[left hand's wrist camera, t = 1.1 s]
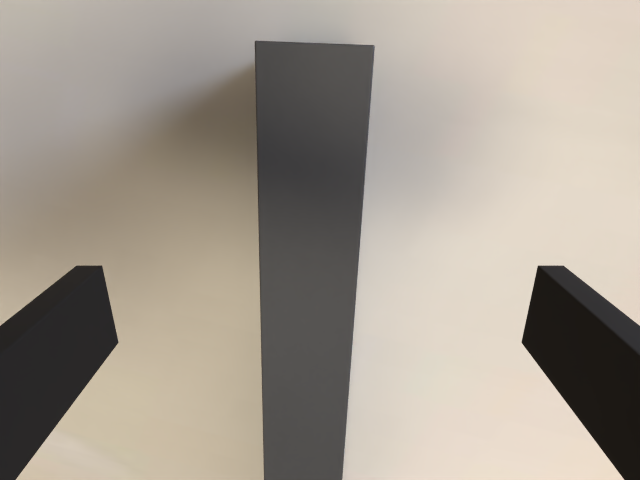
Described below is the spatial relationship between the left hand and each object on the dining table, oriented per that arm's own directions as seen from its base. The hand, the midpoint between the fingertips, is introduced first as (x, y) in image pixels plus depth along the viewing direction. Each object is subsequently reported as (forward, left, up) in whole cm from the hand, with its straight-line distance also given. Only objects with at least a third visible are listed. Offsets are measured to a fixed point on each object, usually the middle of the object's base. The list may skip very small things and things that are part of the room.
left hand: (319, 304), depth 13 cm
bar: (+18, -21, -17) cm, 32 cm away
